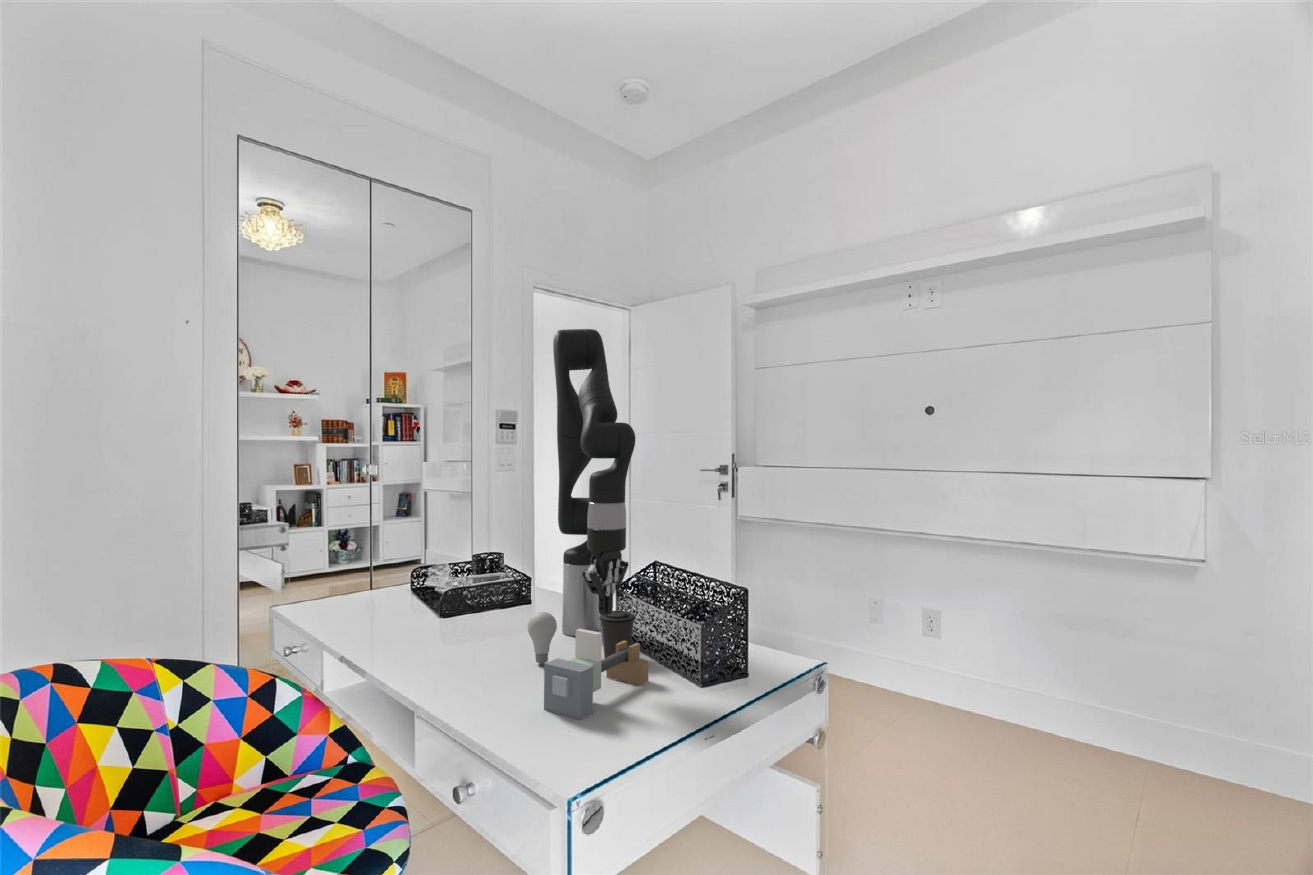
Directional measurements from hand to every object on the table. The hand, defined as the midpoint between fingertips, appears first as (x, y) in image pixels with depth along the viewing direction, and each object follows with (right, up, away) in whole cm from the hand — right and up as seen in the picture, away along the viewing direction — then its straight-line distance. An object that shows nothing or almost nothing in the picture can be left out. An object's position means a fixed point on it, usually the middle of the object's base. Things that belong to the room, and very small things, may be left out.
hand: (605, 613), depth 129 cm
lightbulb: (-14, -14, +11) cm, 23 cm away
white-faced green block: (-3, -11, -9) cm, 15 cm away
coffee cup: (+1, -14, +16) cm, 21 cm away
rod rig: (-1, -14, -5) cm, 15 cm away
